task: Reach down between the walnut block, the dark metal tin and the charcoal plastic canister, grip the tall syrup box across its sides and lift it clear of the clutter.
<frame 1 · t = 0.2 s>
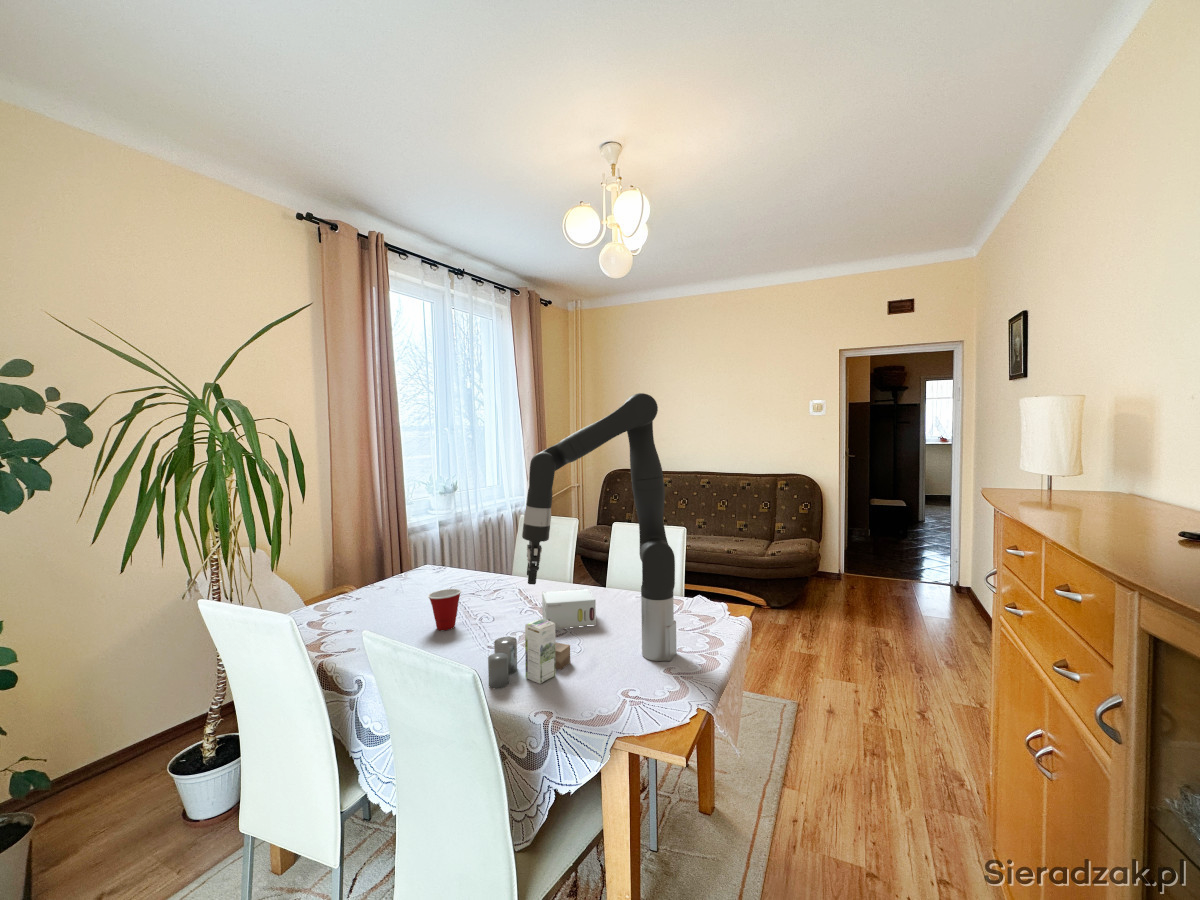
hand: (531, 579, 142), 23 cm above the table, tool pointing down, fingers open, 8 cm apart
walnut block: (558, 664, 140), on the table
dark metal tin: (506, 670, 137), on the table
plastic cup: (445, 627, 169), on the table
supplement box: (568, 622, 173), on the table
charcoal plastic canister: (498, 683, 129), on the table
syrup box: (540, 678, 132), on the table
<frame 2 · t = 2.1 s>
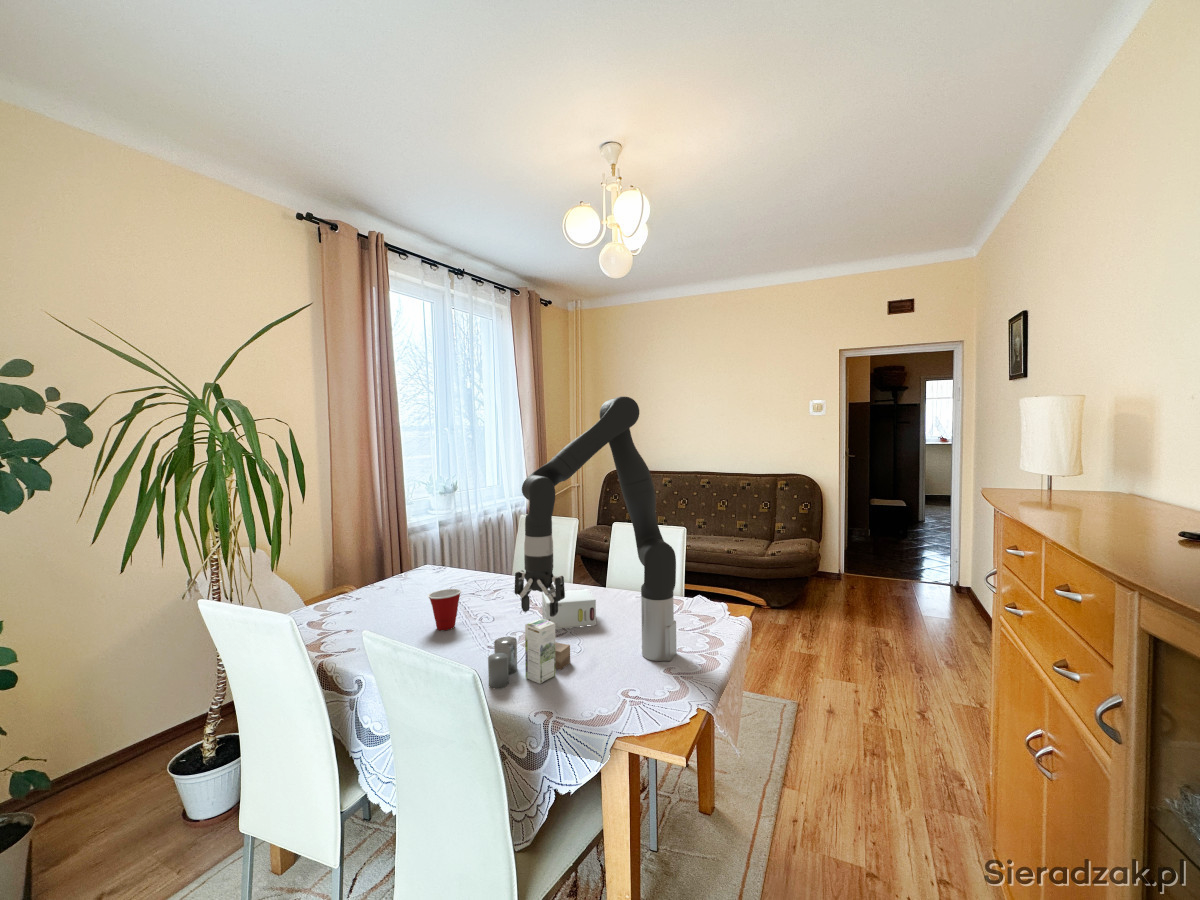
hand: (539, 613, 132), 17 cm above the table, tool pointing down, fingers open, 8 cm apart
nothing on the table moved.
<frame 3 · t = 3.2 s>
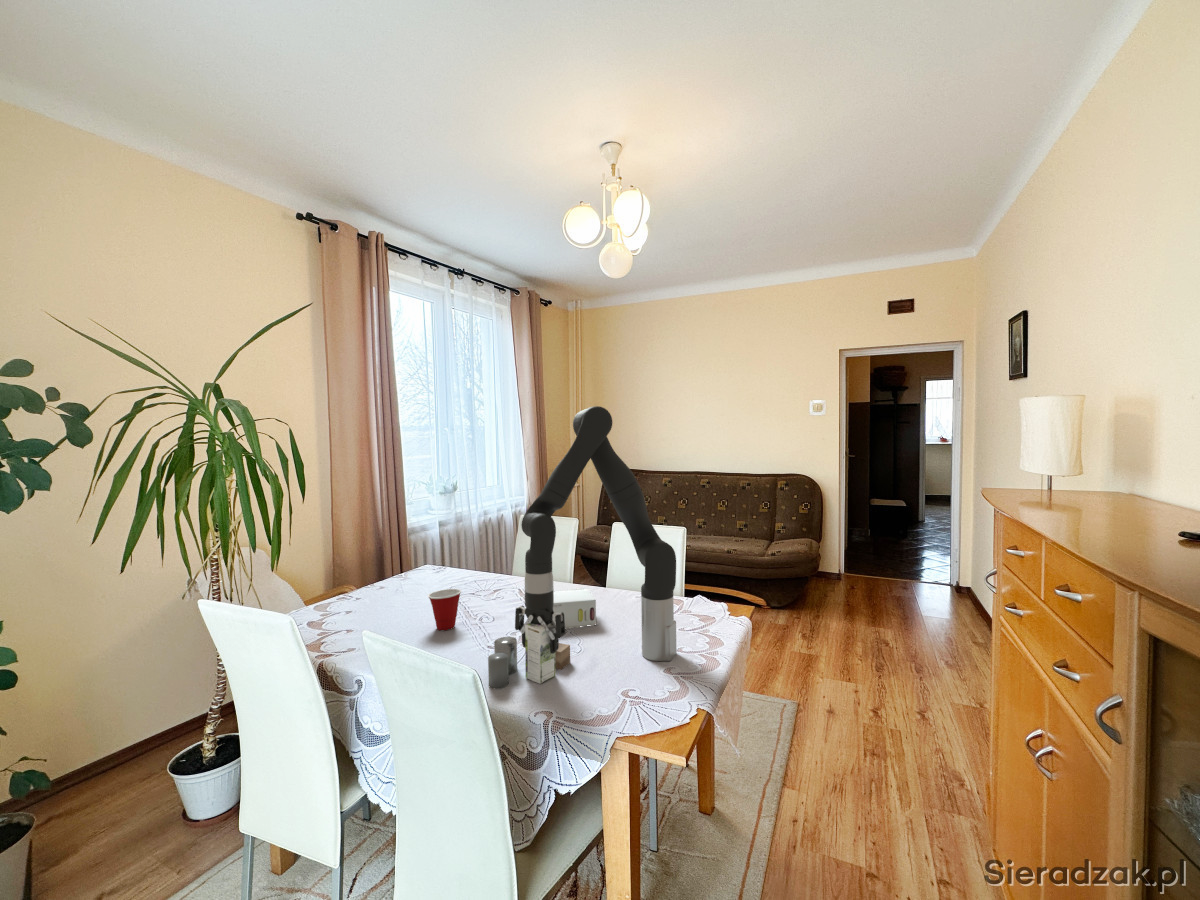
hand: (540, 649, 132), 7 cm above the table, tool pointing down, fingers open, 8 cm apart
nothing on the table moved.
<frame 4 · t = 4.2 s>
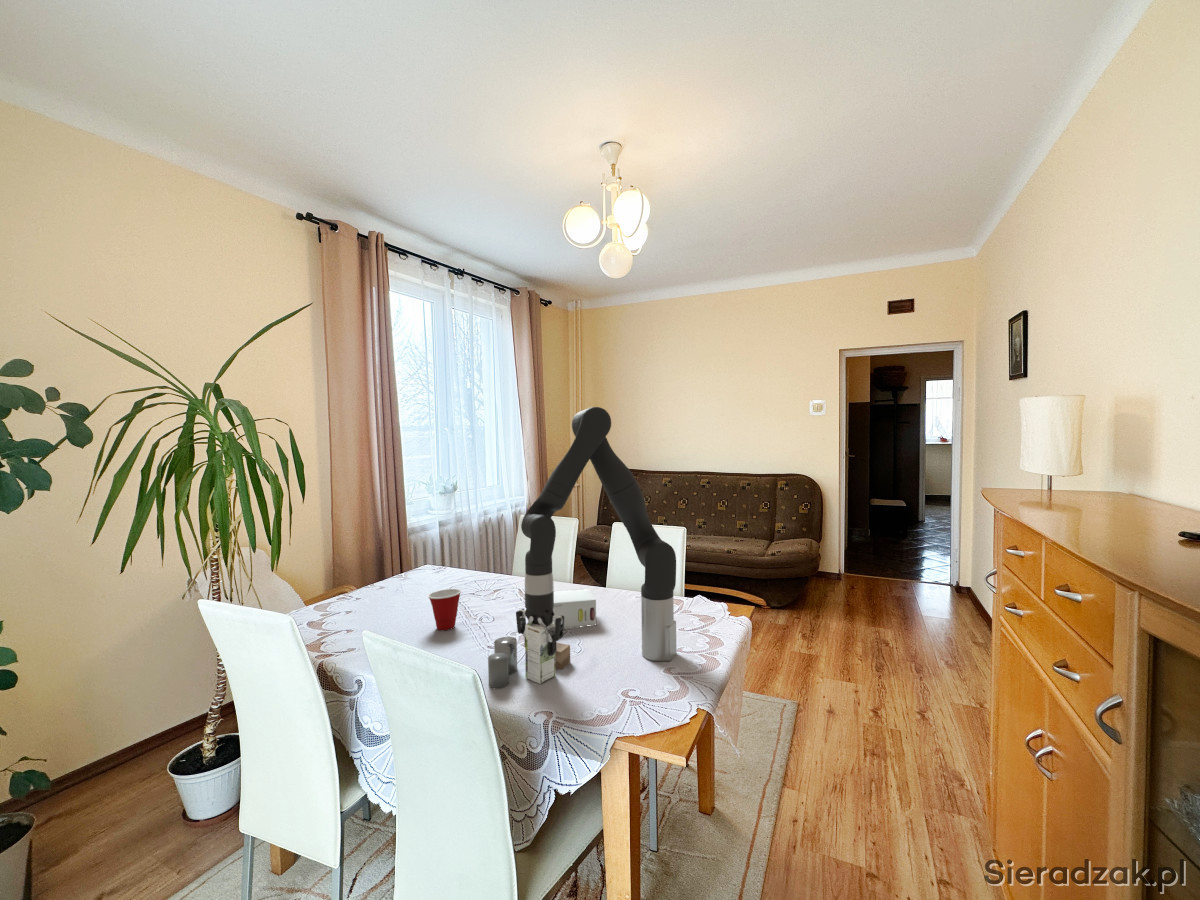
hand: (540, 652, 132), 7 cm above the table, tool pointing down, fingers closed on syrup box, 6 cm apart
syrup box: (540, 678, 132), on the table, touching gripper
everything else where it was.
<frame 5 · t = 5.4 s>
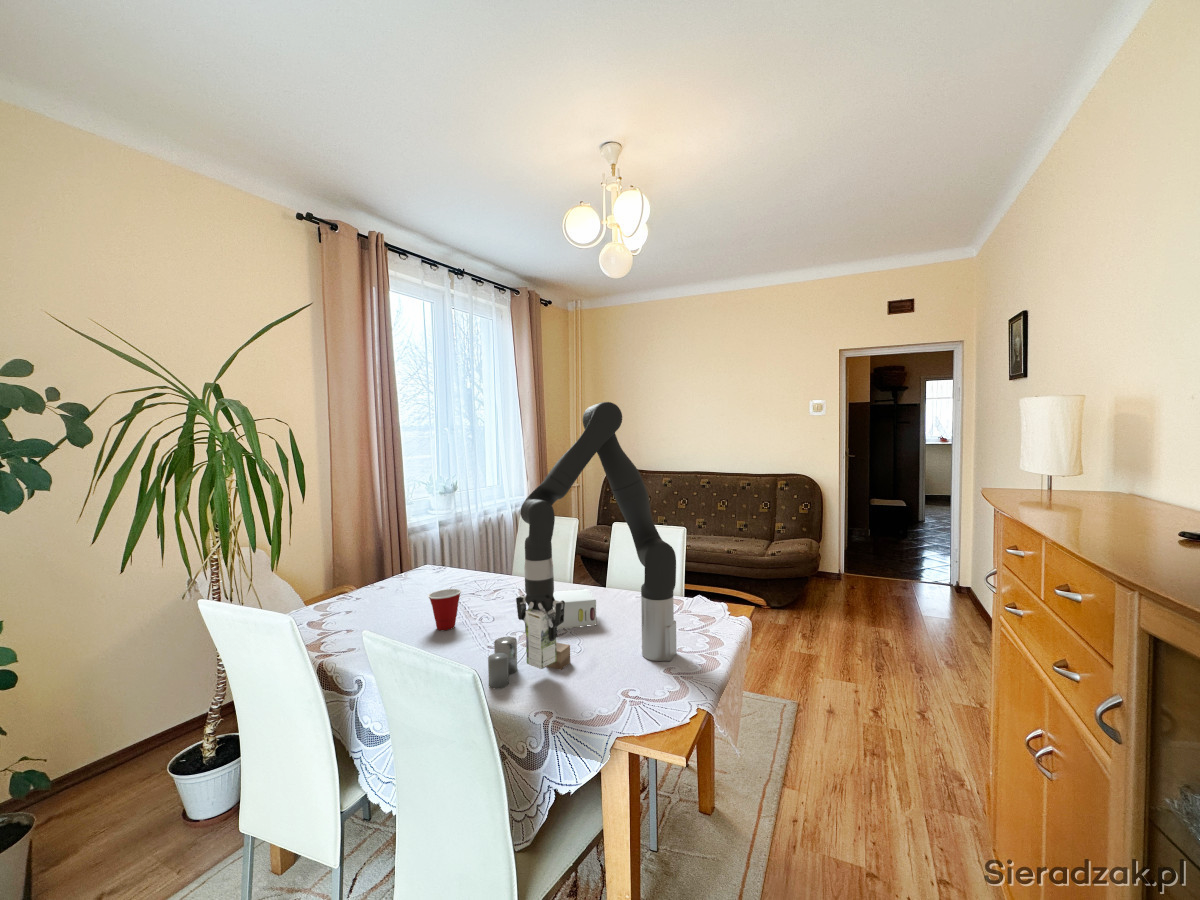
hand: (541, 637, 132), 11 cm above the table, tool pointing down, fingers closed on syrup box, 6 cm apart
syrup box: (542, 663, 132), point 4 cm above the table, touching gripper
everything else where it was.
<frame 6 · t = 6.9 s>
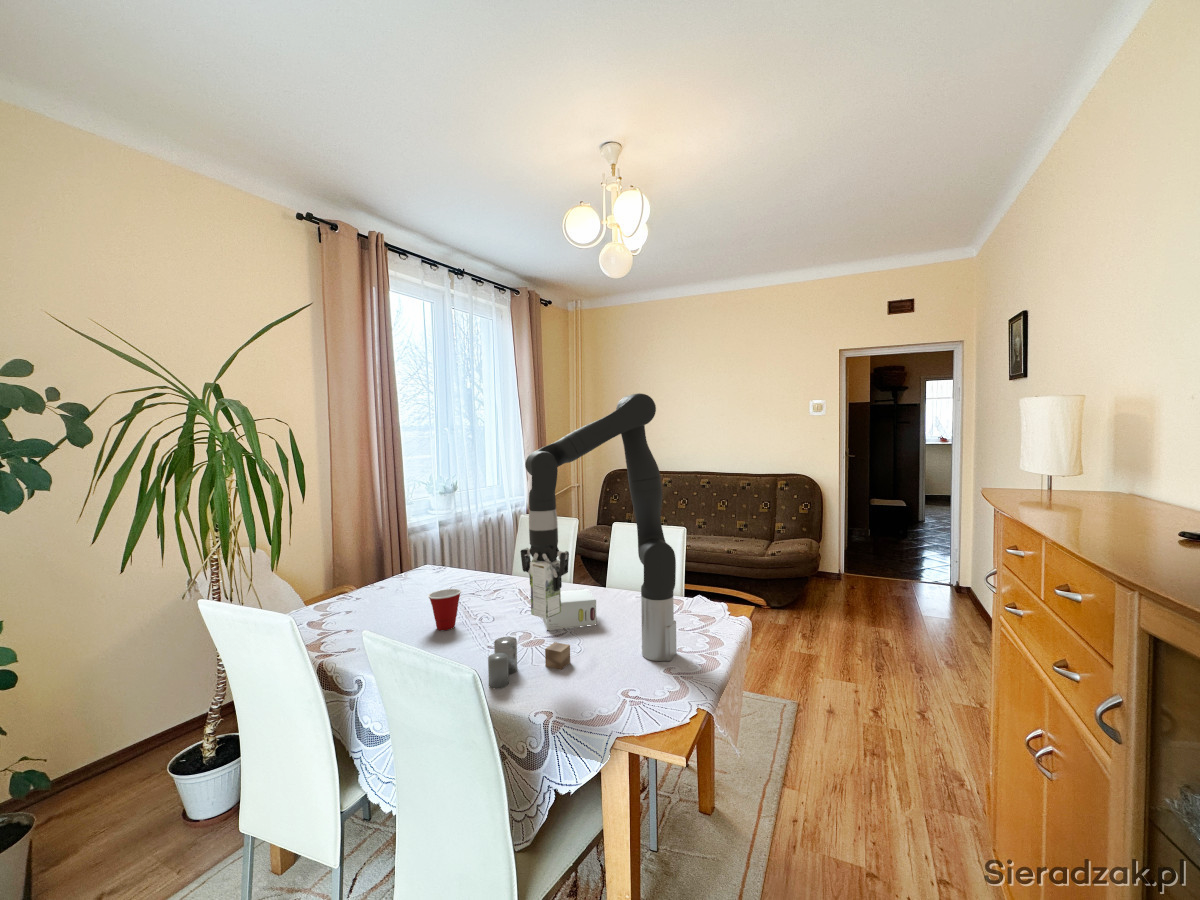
hand: (545, 588, 134), 23 cm above the table, tool pointing down, fingers closed on syrup box, 6 cm apart
syrup box: (546, 614, 134), point 16 cm above the table, touching gripper
everything else where it was.
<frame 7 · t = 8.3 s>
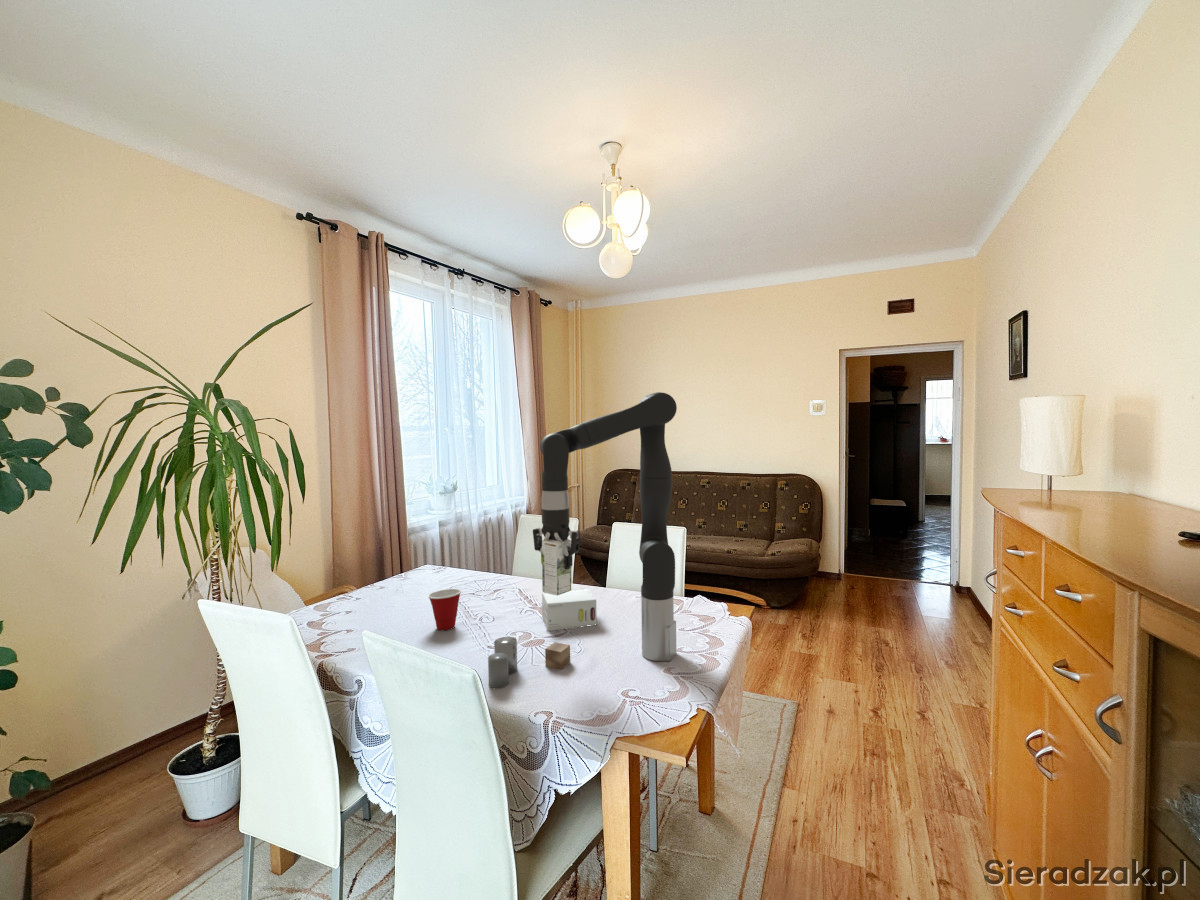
hand: (556, 567, 138), 28 cm above the table, tool pointing down, fingers closed on syrup box, 6 cm apart
syrup box: (557, 592, 138), point 21 cm above the table, touching gripper
everything else where it was.
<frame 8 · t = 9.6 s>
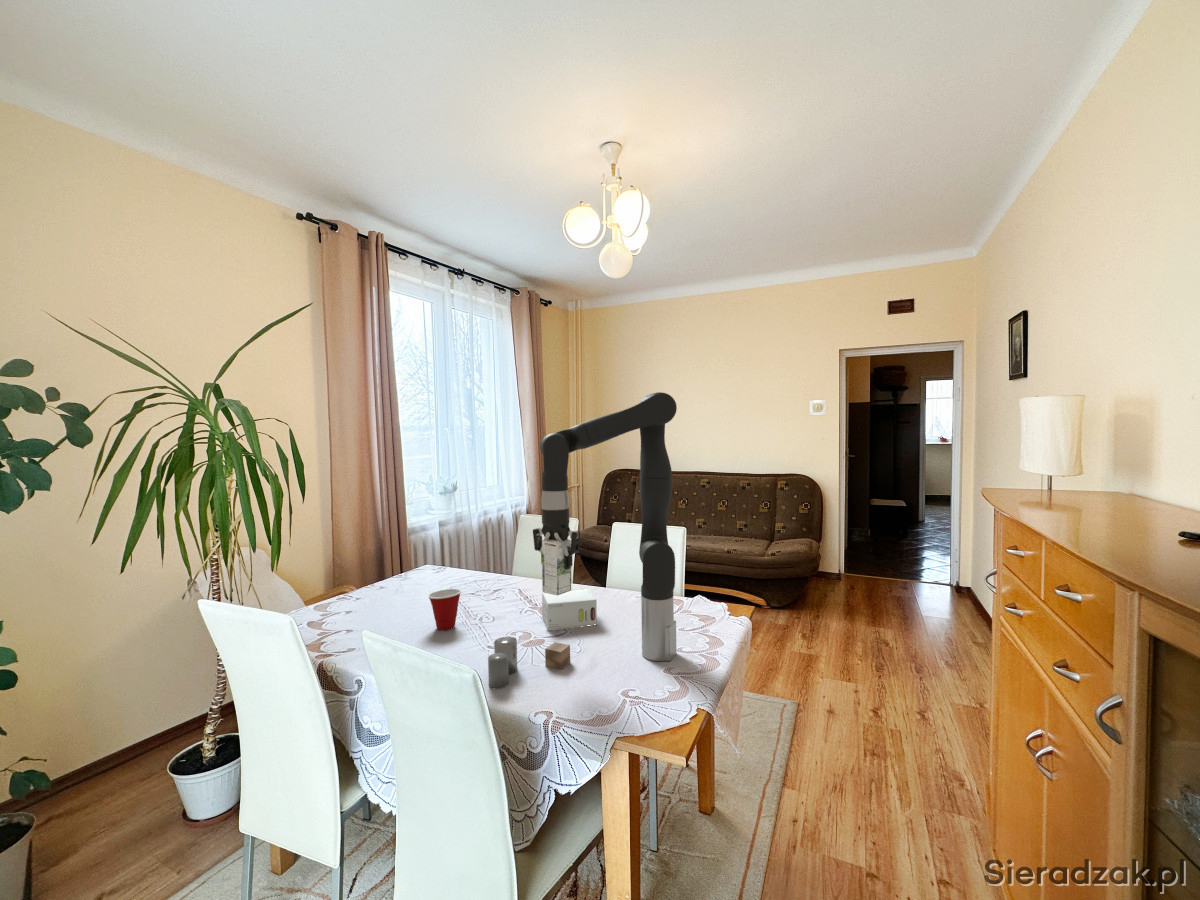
hand: (556, 567, 138), 28 cm above the table, tool pointing down, fingers closed on syrup box, 6 cm apart
syrup box: (557, 592, 138), point 21 cm above the table, touching gripper
everything else where it was.
at the end: the gripper is holding syrup box; syrup box point 20.7 cm above the table; dark metal tin moved 0.0 cm from its start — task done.
